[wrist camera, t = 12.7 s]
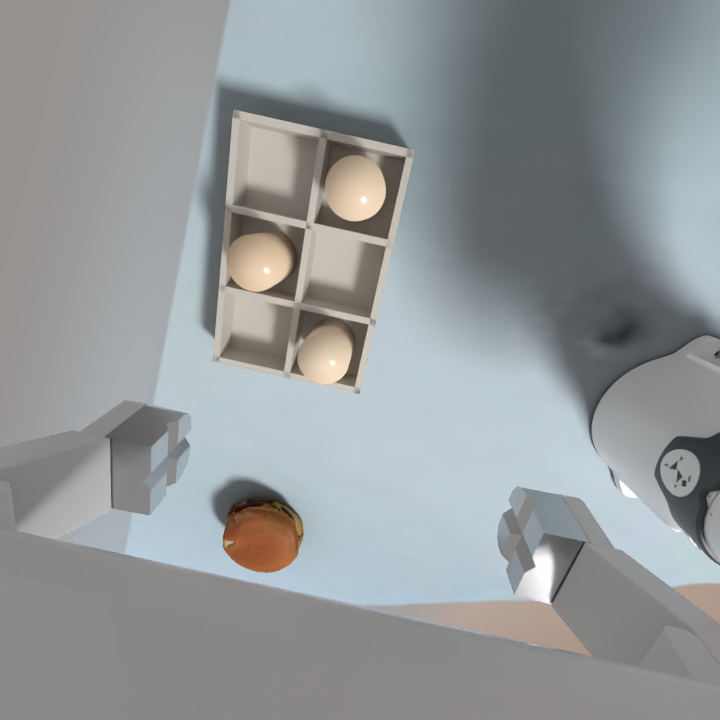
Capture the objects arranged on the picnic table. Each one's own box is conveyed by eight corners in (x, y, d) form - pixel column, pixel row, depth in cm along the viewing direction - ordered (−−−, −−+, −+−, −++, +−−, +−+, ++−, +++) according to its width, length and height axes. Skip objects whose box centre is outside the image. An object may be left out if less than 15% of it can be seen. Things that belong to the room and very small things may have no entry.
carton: (413, 155, 35) (415, 150, 32) (361, 379, 43) (359, 393, 40) (248, 119, 35) (233, 109, 32) (226, 349, 43) (212, 361, 40)
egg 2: (359, 323, 40) (353, 341, 35) (350, 365, 42) (343, 389, 36) (314, 313, 40) (301, 330, 35) (307, 355, 42) (293, 378, 36)
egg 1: (301, 236, 38) (284, 241, 32) (294, 284, 39) (277, 296, 34) (253, 226, 38) (228, 228, 32) (248, 275, 39) (224, 285, 34)
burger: (313, 548, 52) (305, 579, 47) (245, 555, 53) (232, 586, 49) (292, 485, 49) (282, 512, 44) (221, 494, 50) (205, 521, 46)
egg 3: (391, 170, 35) (391, 162, 30) (380, 224, 37) (378, 226, 31) (340, 159, 35) (330, 149, 30) (331, 214, 37) (320, 214, 31)
